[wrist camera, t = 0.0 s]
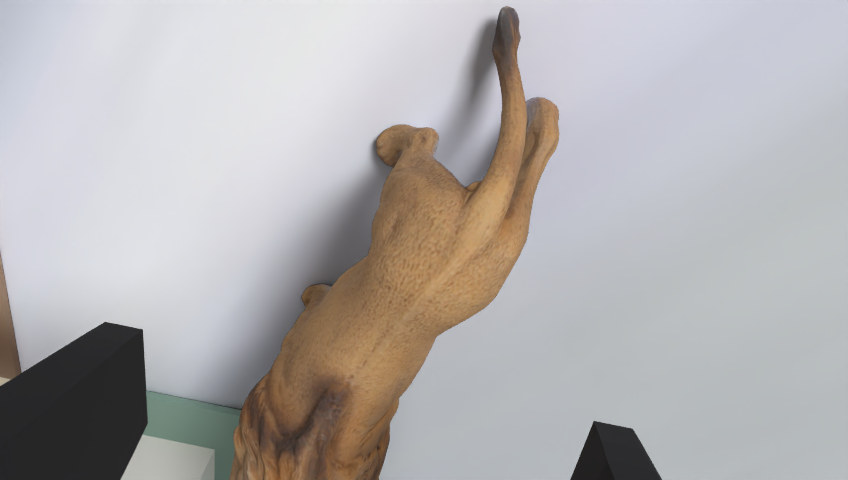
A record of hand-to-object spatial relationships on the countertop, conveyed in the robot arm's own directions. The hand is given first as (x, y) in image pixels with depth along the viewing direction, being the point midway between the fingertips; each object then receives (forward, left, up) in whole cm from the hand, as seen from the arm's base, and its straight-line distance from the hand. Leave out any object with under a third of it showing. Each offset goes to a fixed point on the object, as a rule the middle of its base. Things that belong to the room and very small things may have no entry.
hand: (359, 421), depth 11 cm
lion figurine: (-3, 0, -10) cm, 11 cm away
